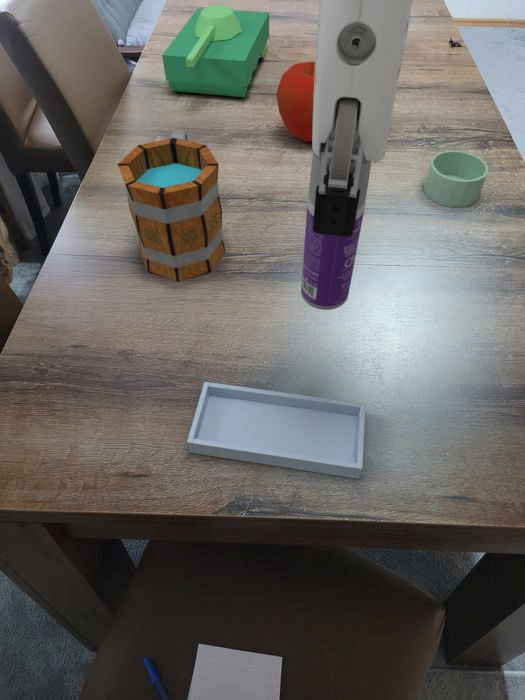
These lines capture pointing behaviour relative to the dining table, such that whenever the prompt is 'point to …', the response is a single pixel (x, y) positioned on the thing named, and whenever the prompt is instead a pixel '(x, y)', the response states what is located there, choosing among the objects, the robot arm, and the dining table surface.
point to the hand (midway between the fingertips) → (336, 210)
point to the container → (330, 247)
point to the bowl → (455, 178)
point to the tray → (279, 429)
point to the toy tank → (217, 51)
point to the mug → (175, 206)
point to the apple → (297, 100)
